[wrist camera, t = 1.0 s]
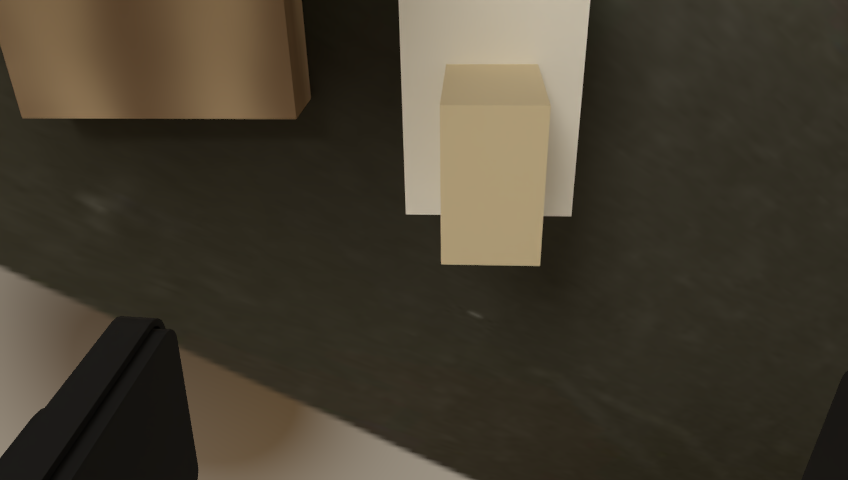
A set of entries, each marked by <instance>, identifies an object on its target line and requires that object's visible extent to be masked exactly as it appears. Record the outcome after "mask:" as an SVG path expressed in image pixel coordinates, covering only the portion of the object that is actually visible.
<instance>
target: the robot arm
mask: <svg viewBox="0 0 848 480" xmlns="http://www.w3.org/2000/svg"><path fill="white" fill-rule="evenodd" d="M197 479H198V463H197V457H196V451H195V446H194V439H193V432H192V426H191V421H190V414H189V409H188V402H187V396H186V390H185V384H184V378H183V372H182V365H181V359H180V353H179V347H178V341H177V336H176V333H175V332H174V330H171V329H165V326H164V324H163V322H162V320H160V319H158V318H142V317H125V316H120V317H117V318H115V319H114V320H113V321H112V322H111V324H110V325H109V326H108V328H107V329H106V330H105V331H104V333H103V334H102V335H101V337H100V338H99V339H98V340H97V342H96V343H95V344H94V346H93V347H92V348H91V349H90V351H89V352H88V353H87V354H86V356H85V357H84V358H83V360H82V361H81V362H80V364H79V365H78V366H77V367H76V369H75V370H74V371H73V372H72V374H71V375H70V376H69V378H68V379H67V380H66V381H65V383H64V384H63V385H62V387H61V388H60V389H59V390H58V392H57V393H56V394H55V395H54V397H53V398H52V399H51V401H50V402H49V403H48V404H47V406H46V407H45V408H43V409H41V410H40V411H39V412H38V413H36V414H35V415H34V416H33V417H32V419H31V420H30V421H29V422H28V424H27V425H26V426H25V428H24V429H23V430H22V431H21V432H20V434H19V435H18V437H16V439H15V440H14V442H13V443H12V444H11V445H10V446H9V448H8V449H7V450H6V451H5V453H4V454H3V455H2V456H1V458H0V480H197ZM802 480H848V371H847V372H846V373H845V374H844V375H843V377H842V379H841V381H840V384H839V386H838V389H837V392H836V394H835V397H834V399H833V402H832V404H831V407H830V409H829V412H828V414H827V417H826V419H825V422H824V424H823V427H822V429H821V432H820V434H819V437H818V440H817V442H816V445H815V447H814V450H813V452H812V455H811V457H810V460H809V462H808V465H807V467H806V470H805V472H804V475H803V477H802Z"/></svg>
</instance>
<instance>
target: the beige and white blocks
mask: <svg viewBox="0 0 848 480" xmlns="http://www.w3.org/2000/svg"><path fill="white" fill-rule="evenodd" d="M589 9H590V0H399V28H400V57H401V86H402V115H403V144H404V174H405V203H406V214H418V215H441V264H449V265H509V266H540V259H541V244H542V229H543V216H571V214H572V202H573V191H574V180H575V168H576V157H577V146H578V134H579V123H580V111H581V100H582V89H583V77H584V66H585V55H586V43H587V32H588V20H589Z"/></svg>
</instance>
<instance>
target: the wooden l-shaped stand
mask: <svg viewBox="0 0 848 480" xmlns="http://www.w3.org/2000/svg"><path fill="white" fill-rule="evenodd" d="M0 45H1V48H2V52H3V55H4V58H5V62H6V65H7V69H8V72H9V75H10V79H11V82H12V85H13V89H14V92H15V96H16V99H17V102H18V106H19V109H20V112H21V116H22V118H85V119H297V117H298V116H299V115H300V113H301V112H302V110H303V109H304V108H305V106H306V105H307V103H308V102H309V101H310V99H311V92H310V81H309V71H308V60H307V50H306V40H305V29H304V19H303V8H302V0H0Z"/></svg>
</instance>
